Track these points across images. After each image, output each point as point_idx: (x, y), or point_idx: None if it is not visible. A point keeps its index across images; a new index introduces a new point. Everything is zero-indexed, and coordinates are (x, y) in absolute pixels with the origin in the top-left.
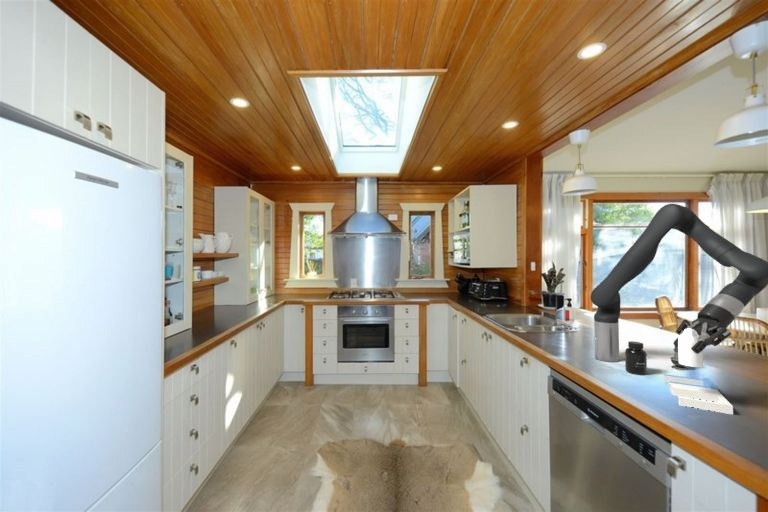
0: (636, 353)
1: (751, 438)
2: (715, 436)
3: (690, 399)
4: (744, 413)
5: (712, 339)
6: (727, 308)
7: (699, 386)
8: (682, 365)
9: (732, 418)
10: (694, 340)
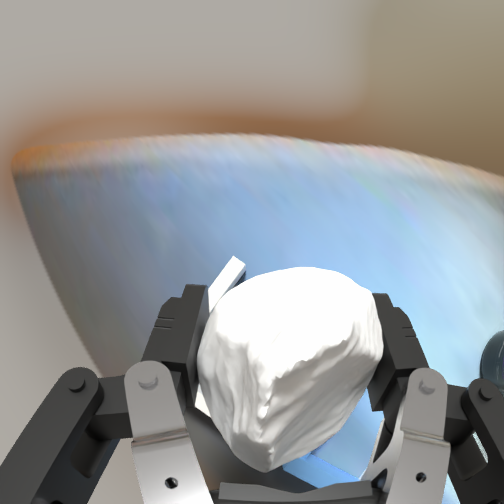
0: None
1: (56, 262)
2: (80, 190)
3: (214, 281)
4: None
5: (56, 385)
6: None
7: None
8: None
9: (137, 337)
10: (214, 339)
